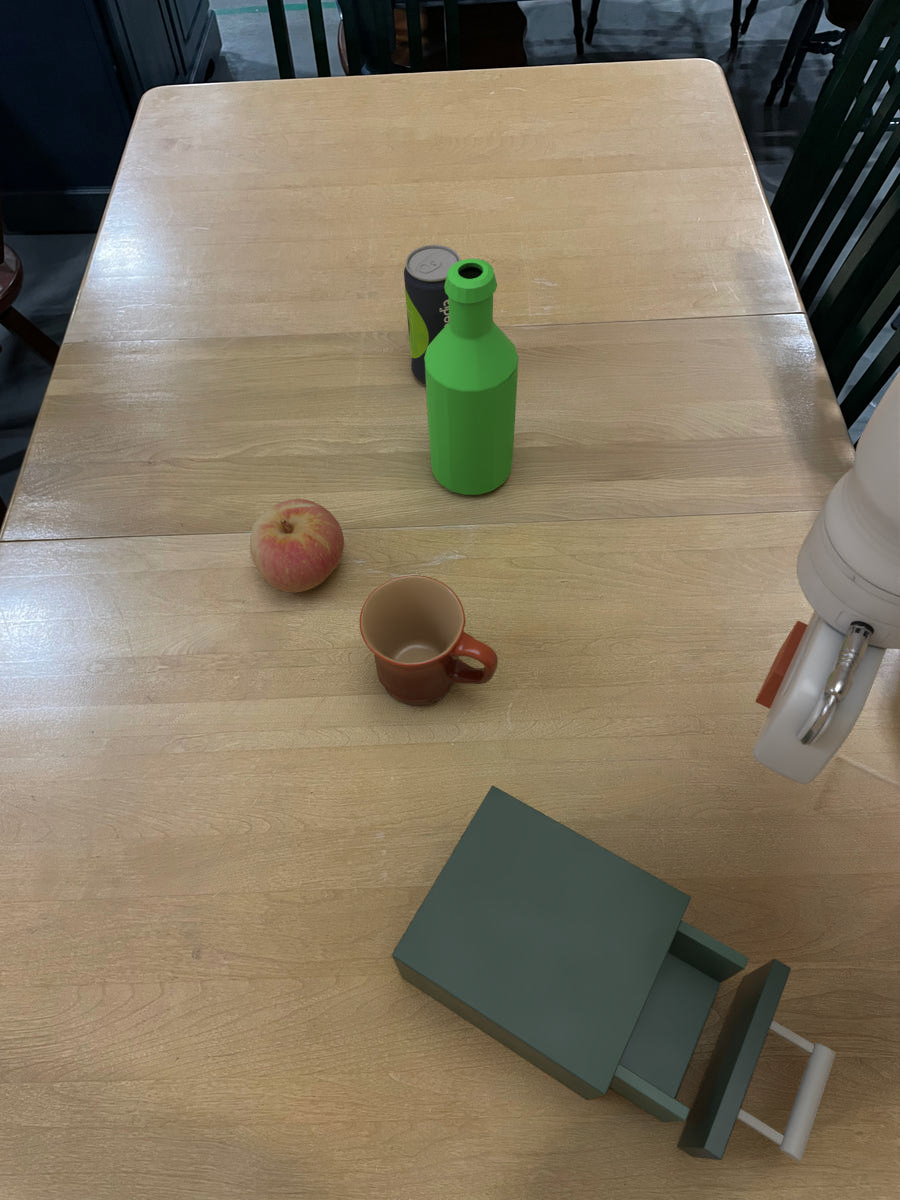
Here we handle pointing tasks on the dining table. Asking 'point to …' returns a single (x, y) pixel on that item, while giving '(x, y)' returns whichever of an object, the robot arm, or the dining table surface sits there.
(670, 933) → the cabinet
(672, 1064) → the drawer
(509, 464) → the bottle
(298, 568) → the apple
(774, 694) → the block
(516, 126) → the dining table surface
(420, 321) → the beverage can
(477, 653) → the mug
